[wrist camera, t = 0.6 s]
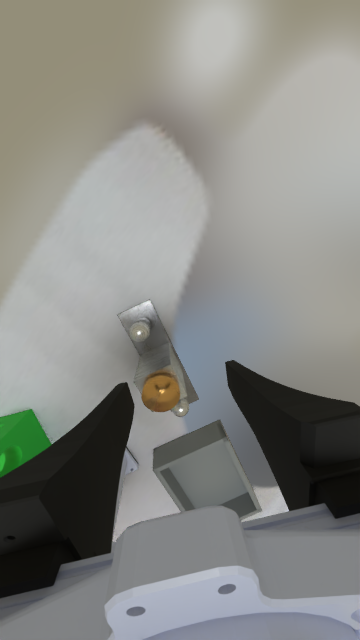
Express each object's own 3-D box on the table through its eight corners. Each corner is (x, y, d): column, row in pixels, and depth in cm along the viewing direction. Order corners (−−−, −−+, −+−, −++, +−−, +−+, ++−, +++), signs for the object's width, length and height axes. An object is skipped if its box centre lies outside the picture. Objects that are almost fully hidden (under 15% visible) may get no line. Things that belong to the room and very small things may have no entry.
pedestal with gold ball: (154, 378, 23) (151, 420, 16) (141, 354, 22) (131, 387, 15) (181, 366, 23) (188, 402, 16) (168, 342, 22) (171, 369, 15)
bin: (195, 514, 31) (199, 538, 28) (153, 449, 26) (152, 470, 23) (252, 488, 31) (262, 510, 28) (219, 419, 26) (226, 436, 23)
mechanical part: (-12, 419, 23) (-102, 492, 15) (32, 408, 23) (-34, 473, 15) (28, 481, 26) (-30, 568, 18) (67, 470, 26) (26, 552, 18)
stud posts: (171, 409, 25) (173, 435, 21) (118, 314, 21) (106, 322, 17) (198, 397, 25) (205, 421, 21) (150, 299, 21) (146, 304, 17)
